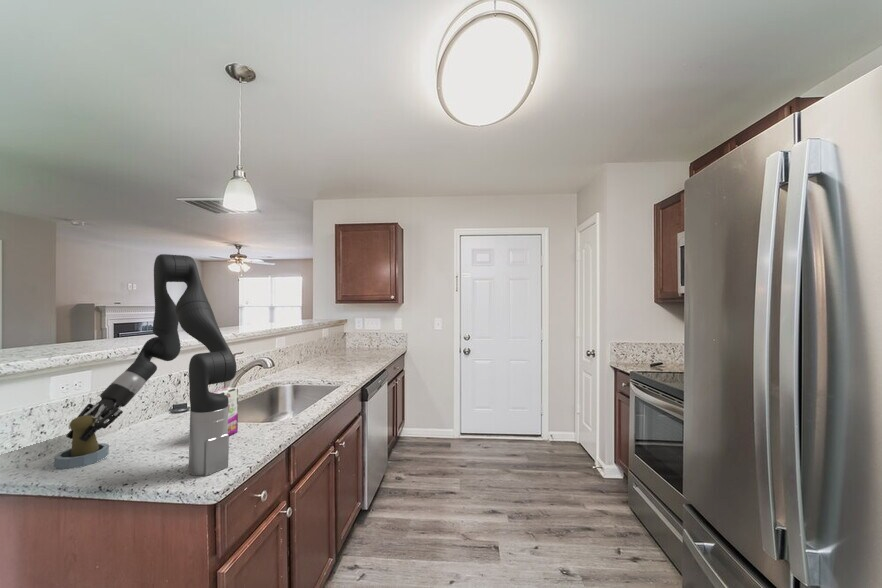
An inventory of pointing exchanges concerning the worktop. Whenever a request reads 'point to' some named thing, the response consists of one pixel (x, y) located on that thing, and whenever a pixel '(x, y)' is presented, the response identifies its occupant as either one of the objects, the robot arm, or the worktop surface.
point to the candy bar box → (231, 408)
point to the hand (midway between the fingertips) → (75, 438)
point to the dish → (79, 458)
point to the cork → (78, 429)
